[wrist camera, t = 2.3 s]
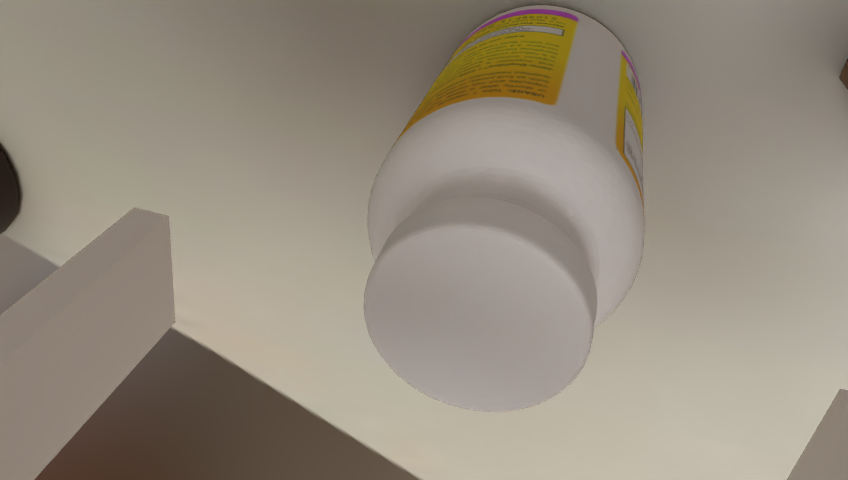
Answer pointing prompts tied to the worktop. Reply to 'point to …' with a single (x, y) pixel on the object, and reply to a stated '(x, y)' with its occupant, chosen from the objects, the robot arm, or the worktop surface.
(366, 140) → the worktop surface
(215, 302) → the worktop surface
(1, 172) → the vinegar
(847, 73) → the frame
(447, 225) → the supplement bottle
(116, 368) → the robot arm
